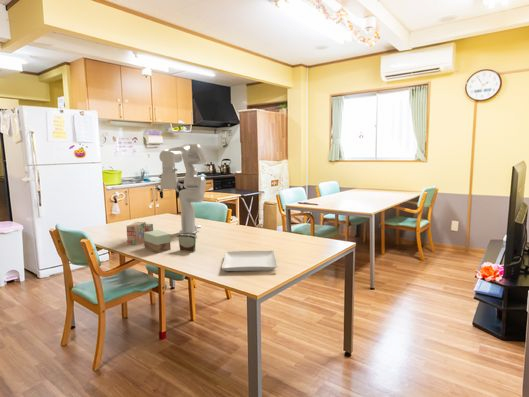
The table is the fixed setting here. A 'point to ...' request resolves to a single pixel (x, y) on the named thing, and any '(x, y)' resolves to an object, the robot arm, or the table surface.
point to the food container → (187, 241)
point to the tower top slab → (157, 237)
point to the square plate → (249, 261)
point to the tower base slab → (157, 247)
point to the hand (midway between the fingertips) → (169, 198)
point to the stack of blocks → (137, 232)
